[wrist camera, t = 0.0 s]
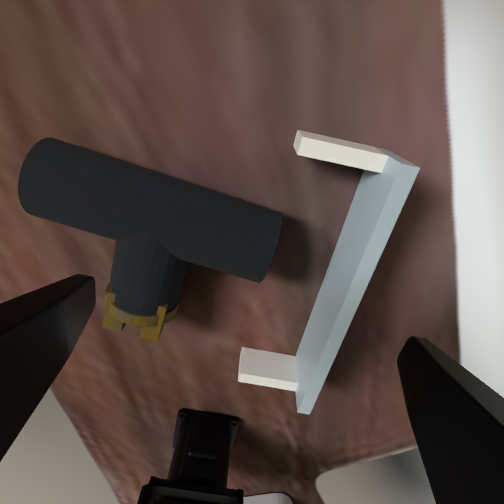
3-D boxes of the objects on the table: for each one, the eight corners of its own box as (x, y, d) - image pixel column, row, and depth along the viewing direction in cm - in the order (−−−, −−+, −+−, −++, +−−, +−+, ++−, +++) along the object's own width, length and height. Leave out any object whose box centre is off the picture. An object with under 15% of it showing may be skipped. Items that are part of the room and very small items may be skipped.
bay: (303, 365, 30) (309, 414, 26) (240, 354, 30) (235, 402, 25) (387, 149, 21) (420, 167, 16) (297, 129, 20) (306, 142, 16)
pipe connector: (228, 367, 24) (16, 312, 22) (234, 321, 28) (60, 272, 27) (284, 231, 19) (16, 144, 17) (280, 202, 23) (70, 132, 22)
